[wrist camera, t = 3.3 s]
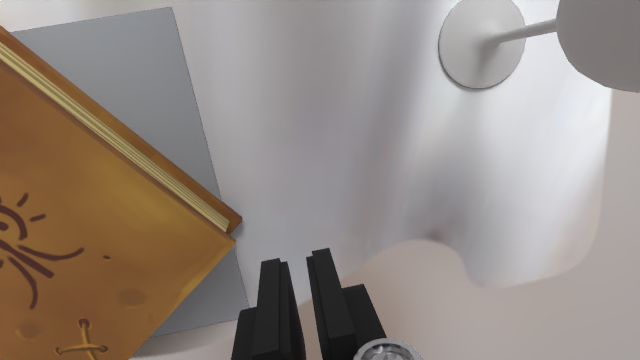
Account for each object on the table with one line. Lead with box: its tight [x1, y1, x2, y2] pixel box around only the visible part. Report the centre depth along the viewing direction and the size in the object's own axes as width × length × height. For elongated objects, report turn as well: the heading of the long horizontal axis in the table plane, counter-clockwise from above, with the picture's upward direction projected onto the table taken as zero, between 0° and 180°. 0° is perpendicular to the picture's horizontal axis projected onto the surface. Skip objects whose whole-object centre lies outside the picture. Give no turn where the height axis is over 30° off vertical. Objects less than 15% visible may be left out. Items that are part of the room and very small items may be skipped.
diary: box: [0, 26, 242, 360], centre depth 25 cm, size 23×19×6 cm
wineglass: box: [439, 0, 640, 93], centre depth 18 cm, size 8×8×21 cm
